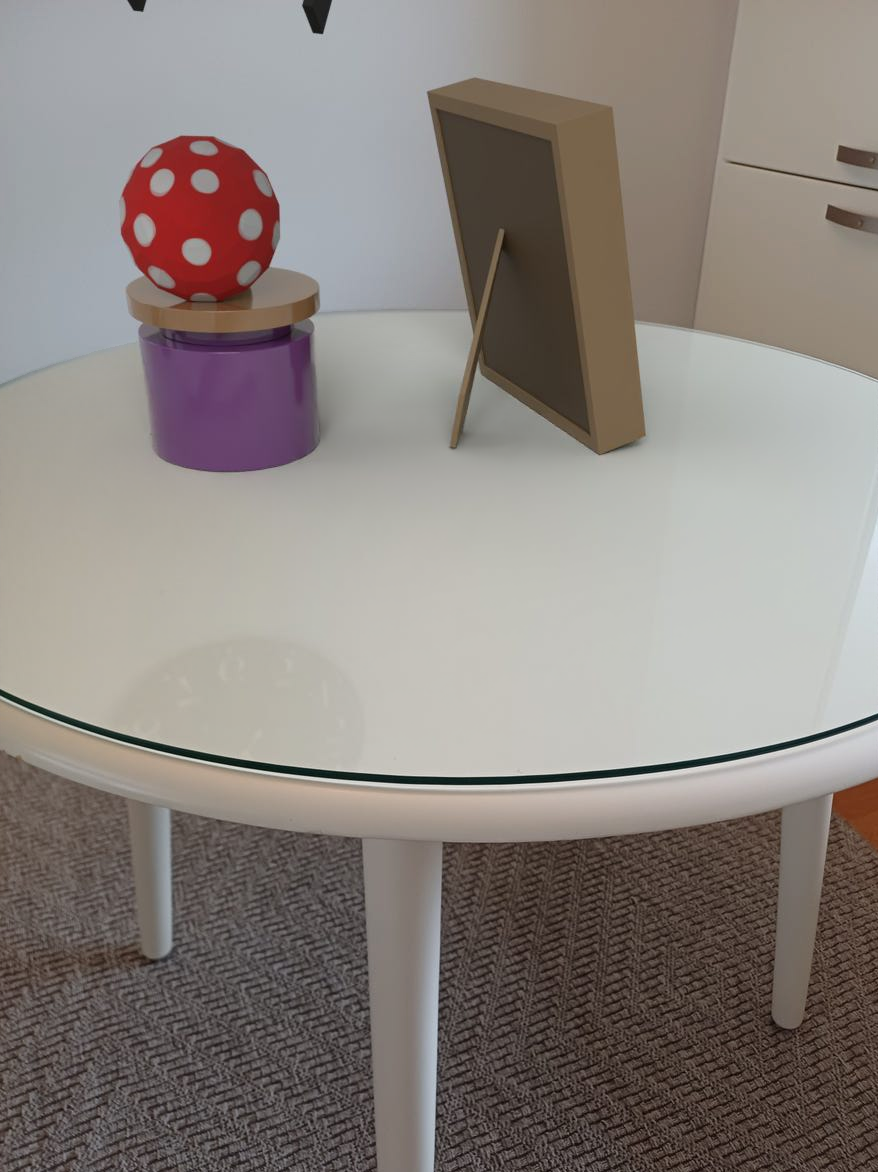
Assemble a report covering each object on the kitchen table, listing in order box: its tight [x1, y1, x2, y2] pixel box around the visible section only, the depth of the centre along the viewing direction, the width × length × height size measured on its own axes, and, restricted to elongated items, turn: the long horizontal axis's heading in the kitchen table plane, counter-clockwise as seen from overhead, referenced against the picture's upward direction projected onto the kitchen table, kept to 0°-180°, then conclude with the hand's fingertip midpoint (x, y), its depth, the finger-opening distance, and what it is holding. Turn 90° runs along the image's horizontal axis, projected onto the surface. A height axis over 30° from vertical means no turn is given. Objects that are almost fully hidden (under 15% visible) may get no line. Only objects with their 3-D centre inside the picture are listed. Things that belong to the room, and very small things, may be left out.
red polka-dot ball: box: [118, 134, 281, 302], centre depth 81 cm, size 11×11×15 cm
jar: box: [125, 266, 321, 472], centre depth 86 cm, size 14×14×12 cm
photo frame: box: [426, 77, 647, 456], centre depth 89 cm, size 15×22×25 cm
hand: (220, 9), depth 78 cm, fingers open, 13 cm apart
